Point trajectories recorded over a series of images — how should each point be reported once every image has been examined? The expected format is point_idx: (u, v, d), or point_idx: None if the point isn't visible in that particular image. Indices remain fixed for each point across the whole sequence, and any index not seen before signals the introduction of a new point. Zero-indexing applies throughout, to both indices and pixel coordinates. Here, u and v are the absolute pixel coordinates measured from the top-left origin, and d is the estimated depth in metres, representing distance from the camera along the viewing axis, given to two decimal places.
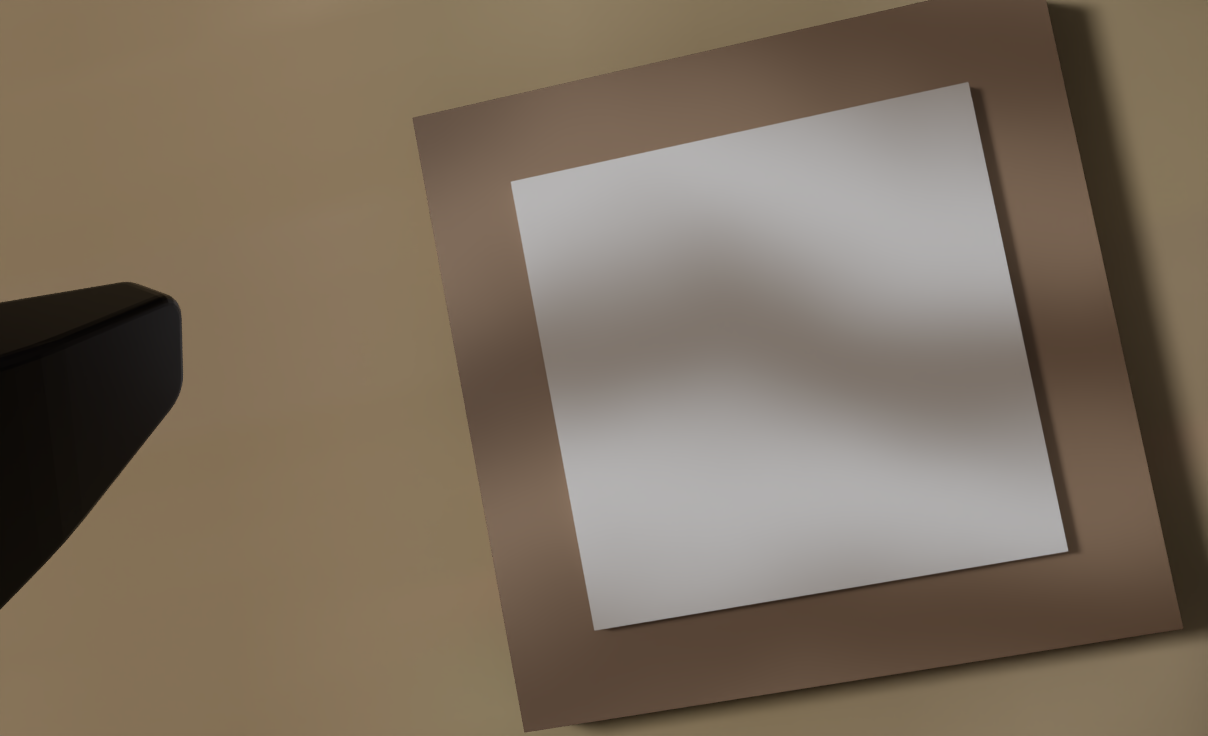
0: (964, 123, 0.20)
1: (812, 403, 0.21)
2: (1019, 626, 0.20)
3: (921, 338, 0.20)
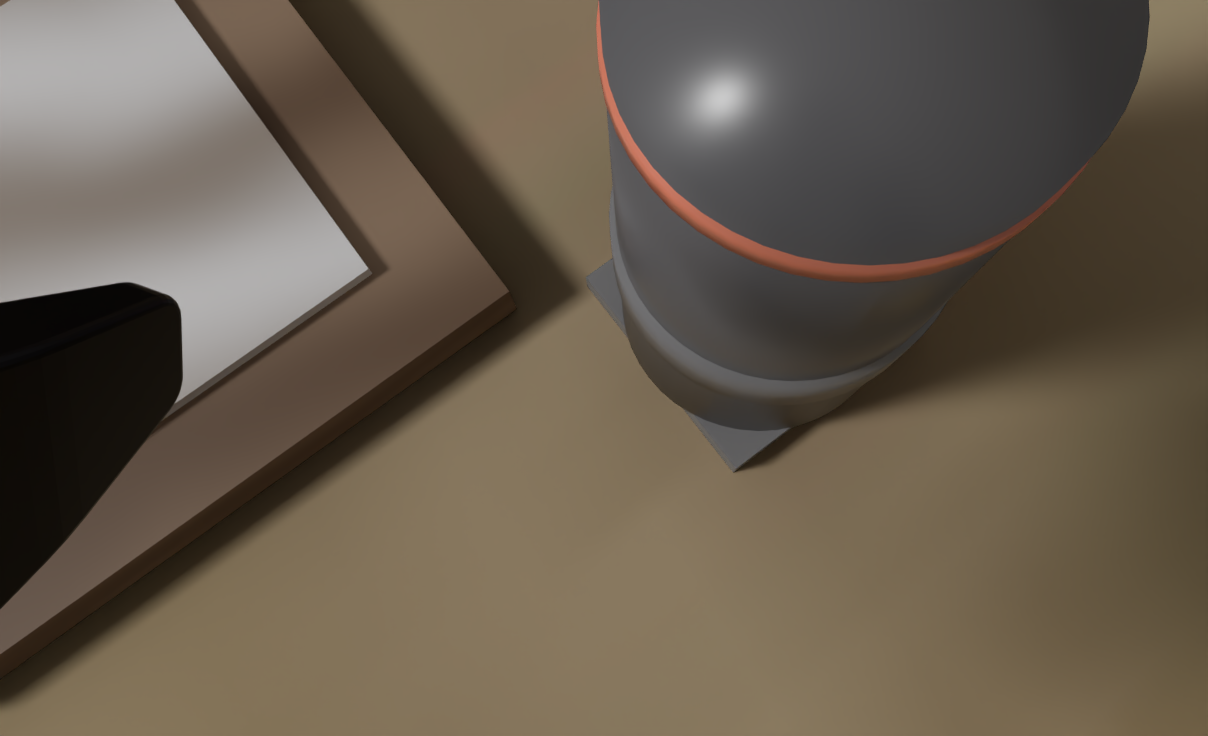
0: None
1: (80, 250, 0.20)
2: (362, 362, 0.19)
3: (161, 148, 0.20)
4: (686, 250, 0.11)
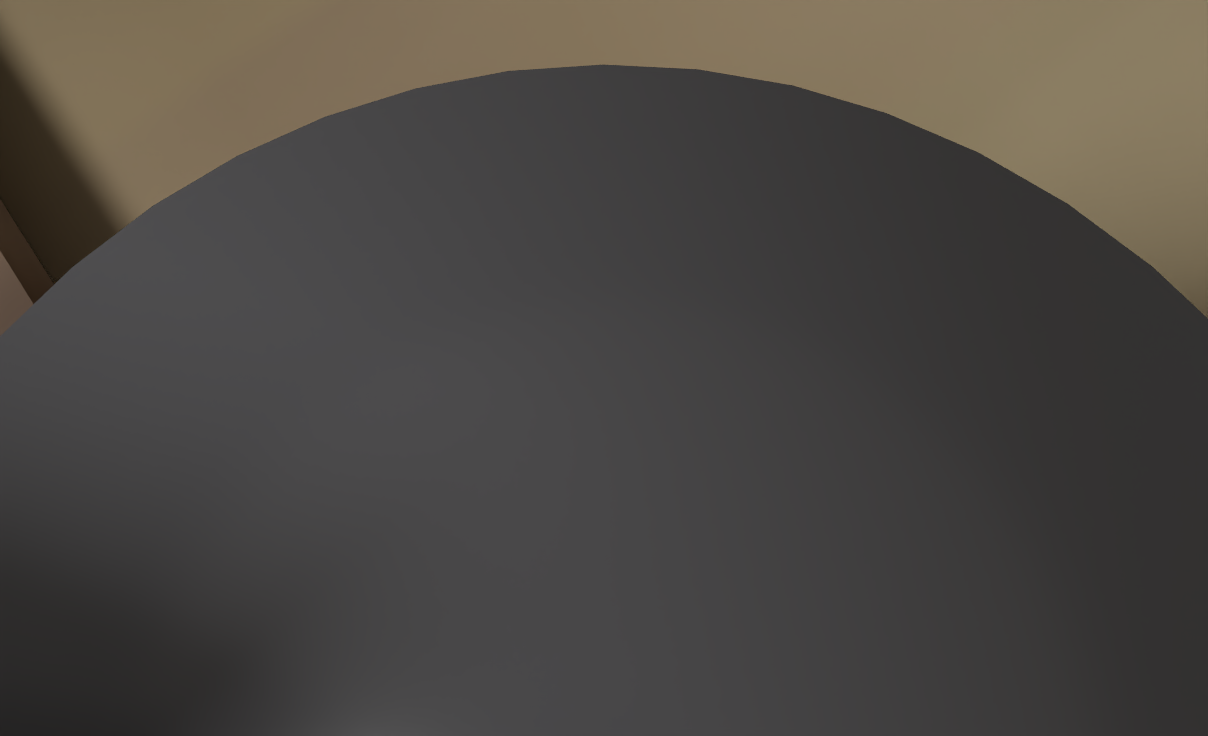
0: None
1: None
2: None
3: None
4: None
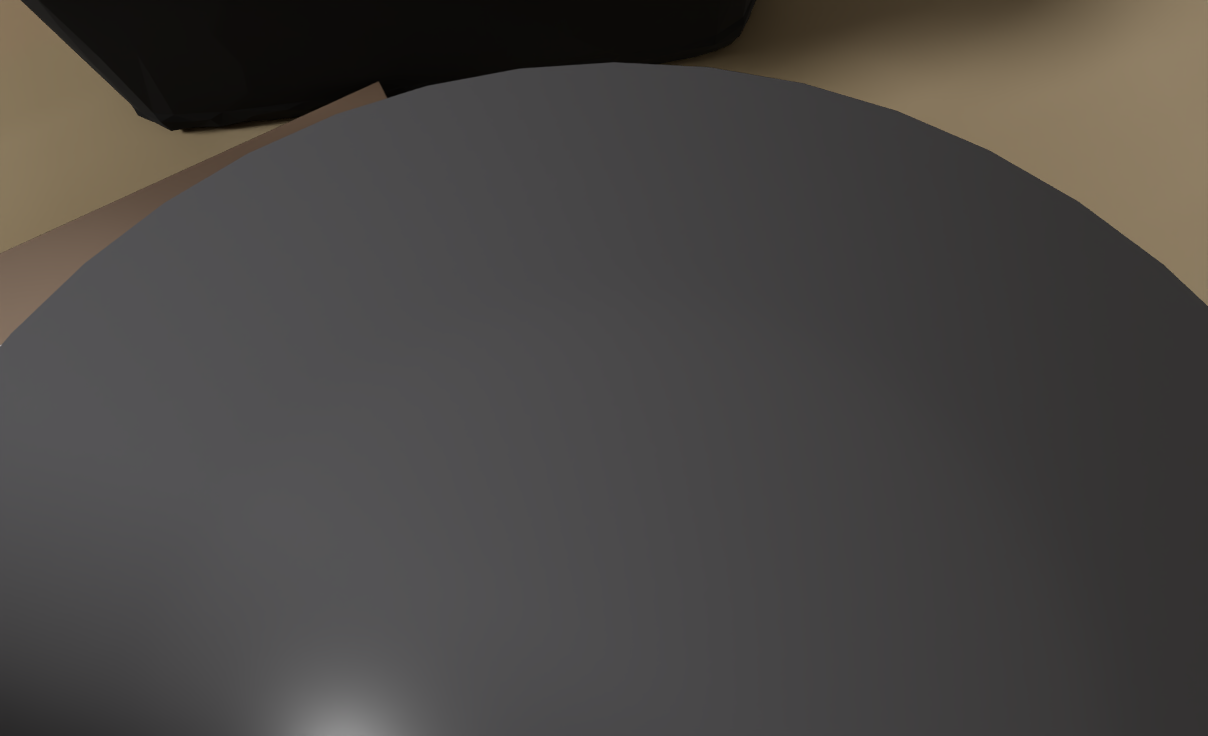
0: None
1: None
2: None
3: None
4: None
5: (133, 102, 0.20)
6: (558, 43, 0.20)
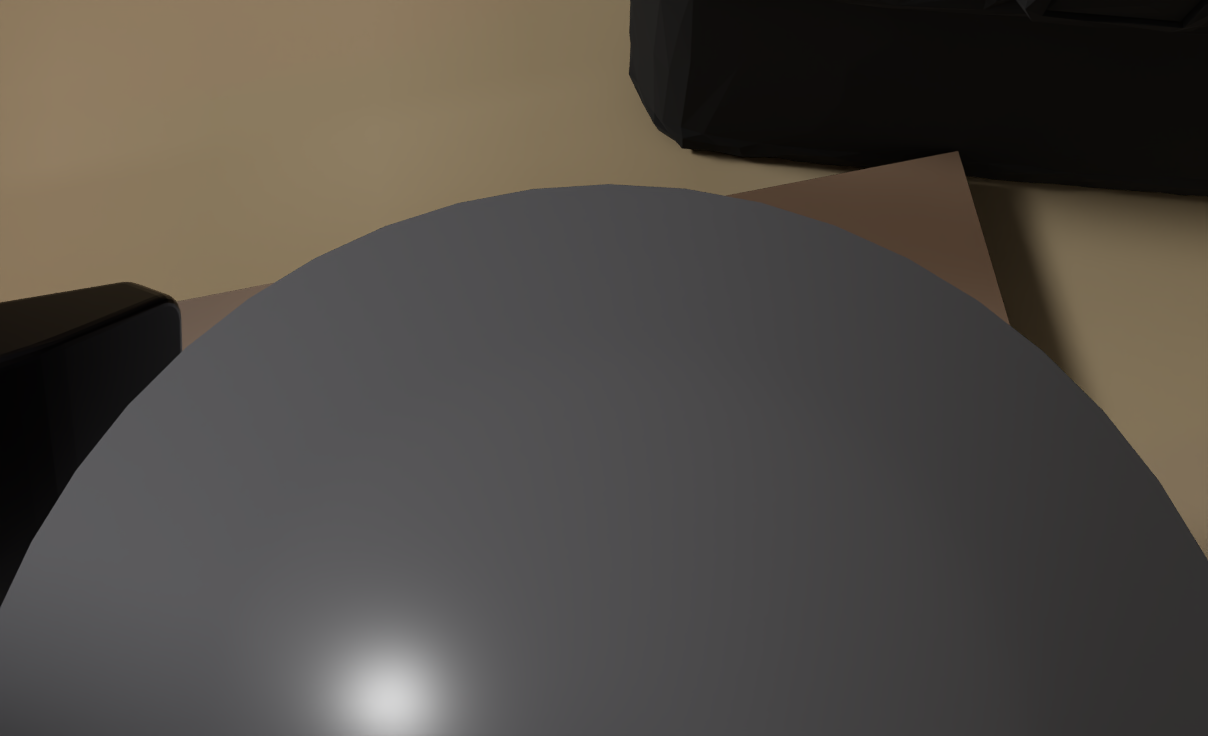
0: None
1: None
2: None
3: None
4: None
5: (667, 111, 0.17)
6: None
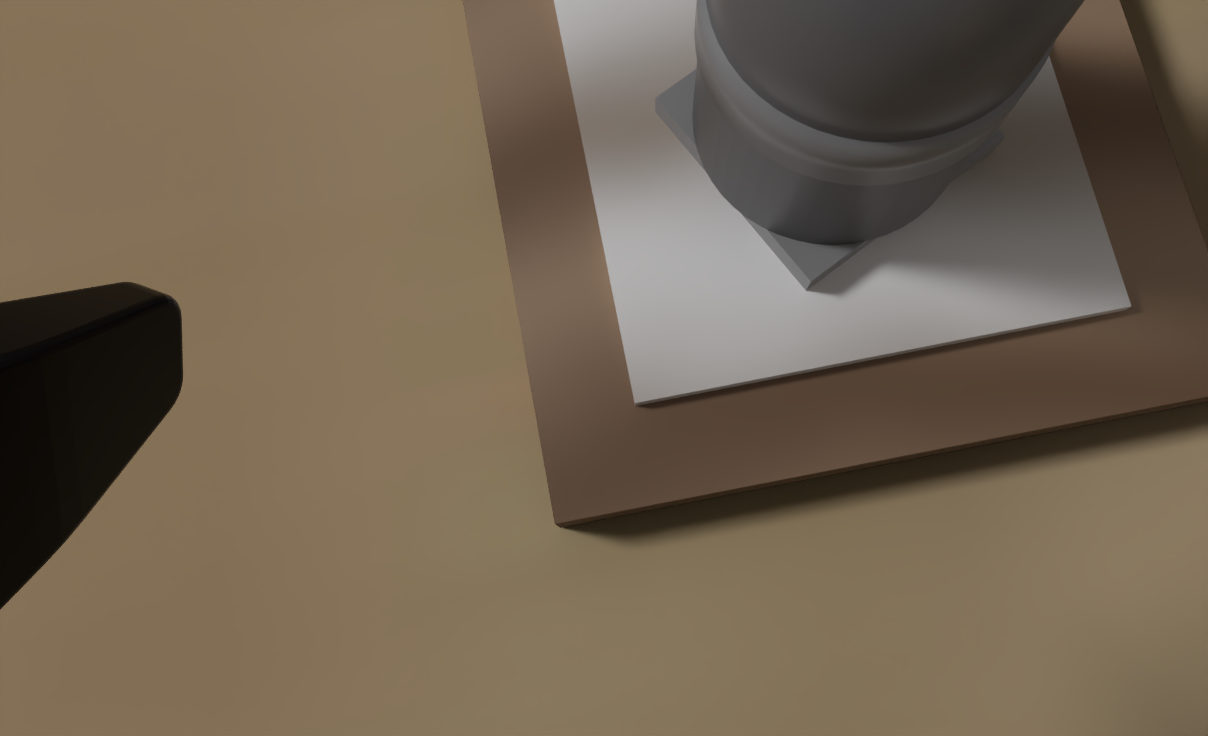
0: None
1: None
2: (1087, 390, 0.19)
3: None
4: None
5: None
6: None
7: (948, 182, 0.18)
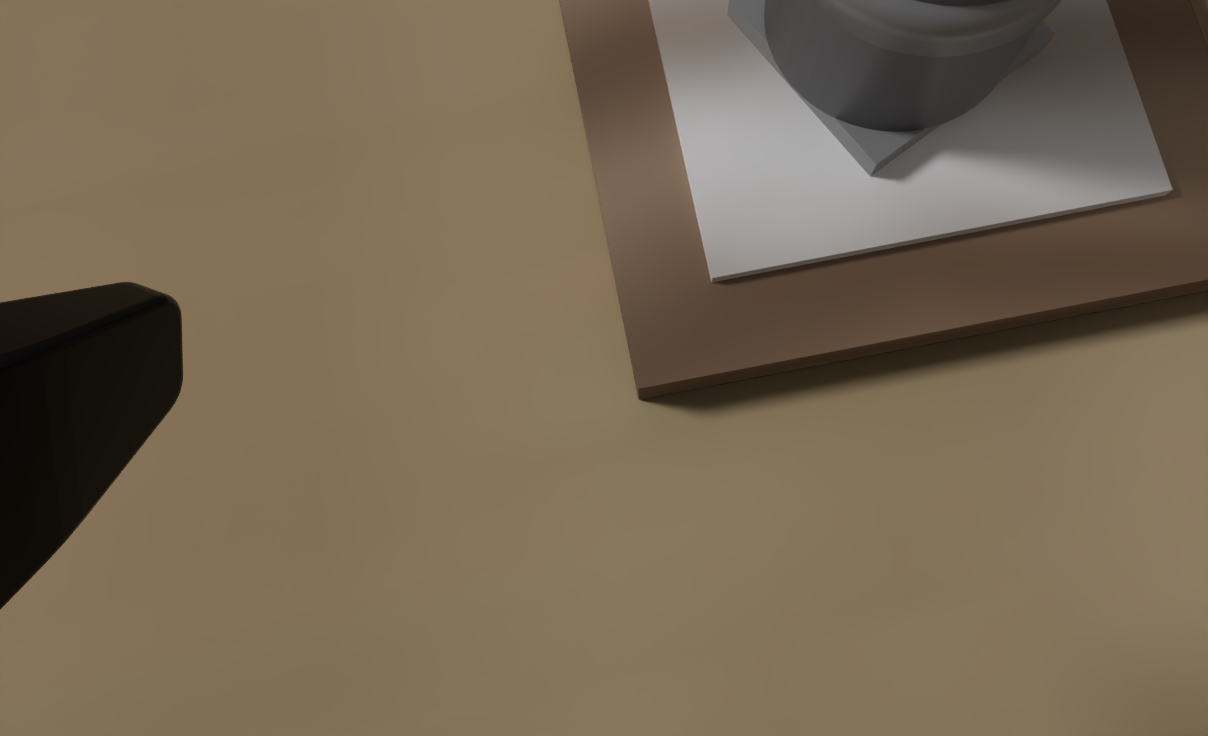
0: None
1: None
2: (1132, 267, 0.21)
3: None
4: None
5: None
6: None
7: (1006, 68, 0.20)
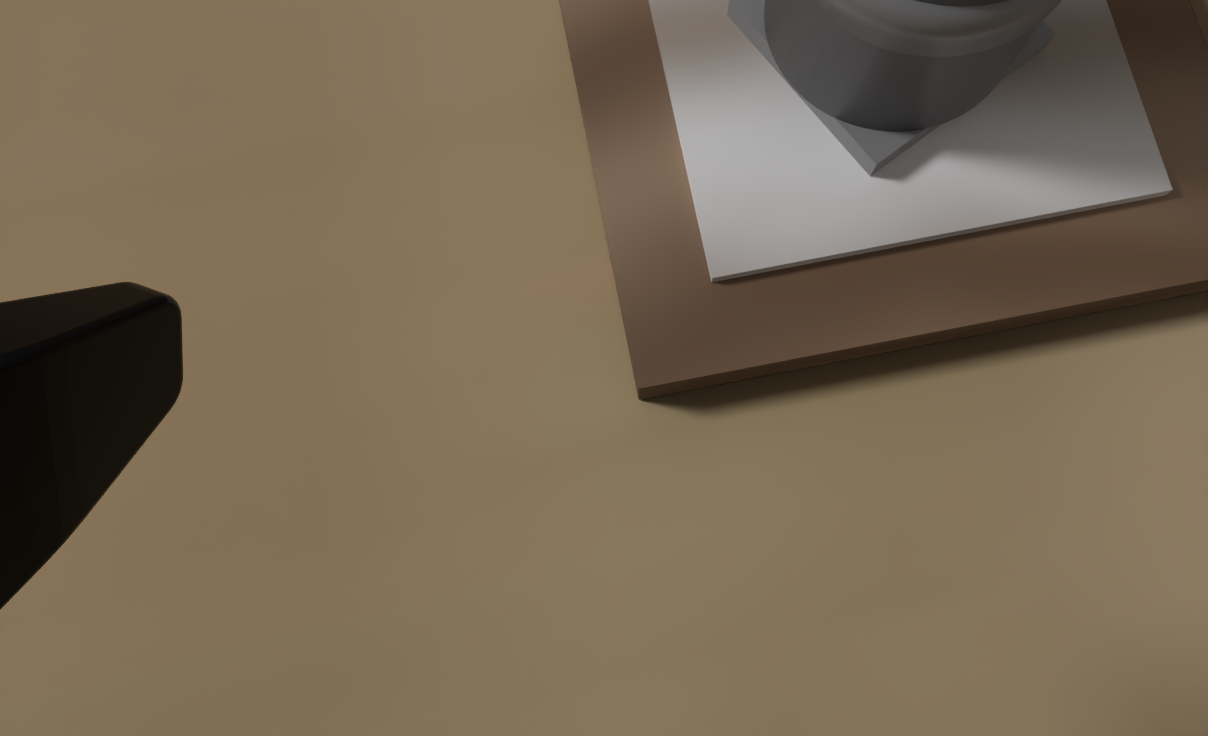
0: None
1: None
2: (1132, 267, 0.21)
3: None
4: None
5: None
6: None
7: (1006, 68, 0.20)
